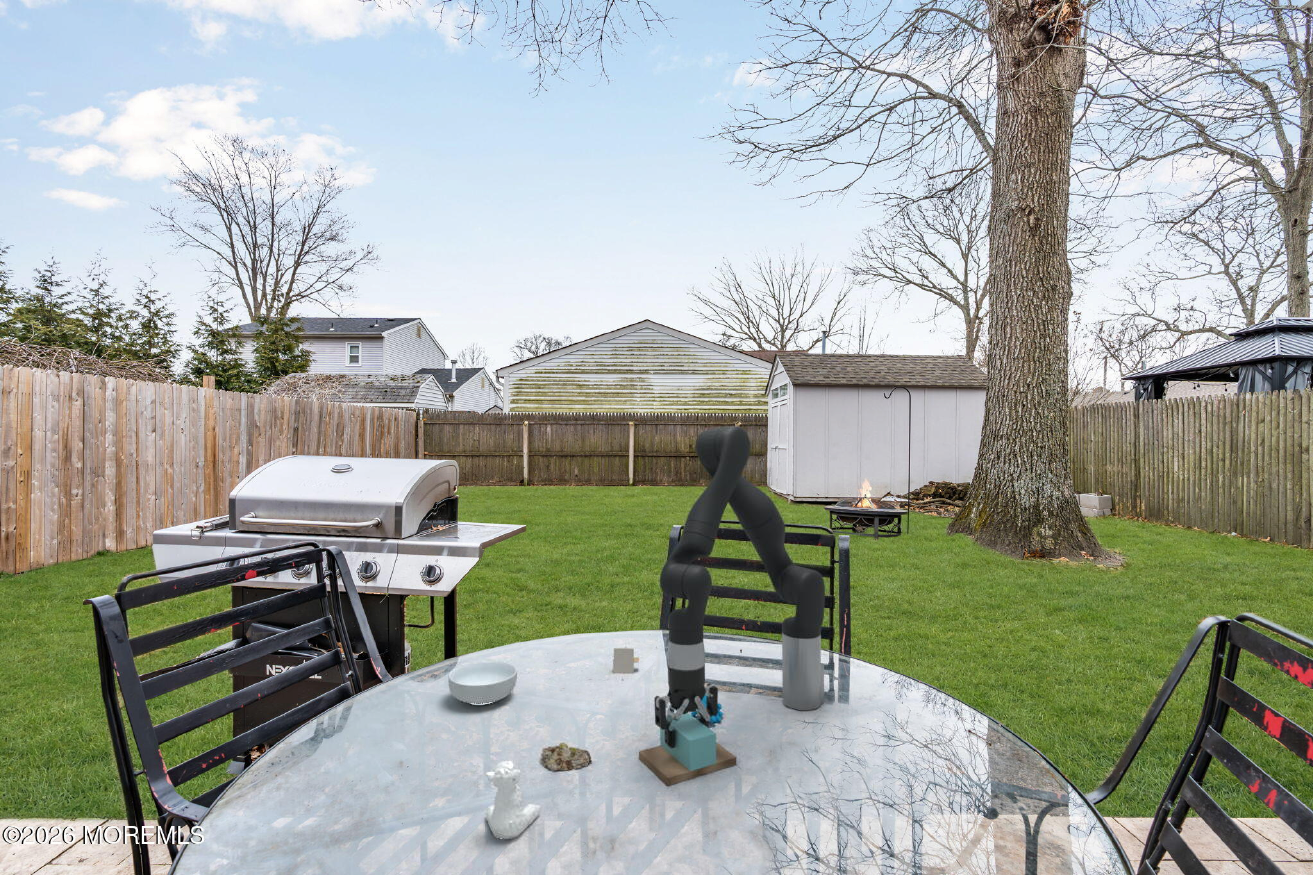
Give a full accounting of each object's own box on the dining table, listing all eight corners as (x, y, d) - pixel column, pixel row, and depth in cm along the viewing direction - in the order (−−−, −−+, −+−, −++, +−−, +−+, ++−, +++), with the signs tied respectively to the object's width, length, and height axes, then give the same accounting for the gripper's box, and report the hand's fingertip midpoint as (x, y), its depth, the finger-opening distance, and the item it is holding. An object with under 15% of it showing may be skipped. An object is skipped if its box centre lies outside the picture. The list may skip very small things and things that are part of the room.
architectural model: (614, 670, 188) (614, 644, 188) (639, 670, 188) (639, 644, 187) (613, 675, 185) (612, 648, 184) (638, 675, 184) (638, 648, 184)
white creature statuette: (541, 813, 119) (540, 746, 119) (534, 843, 111) (533, 772, 110) (487, 814, 119) (486, 747, 119) (476, 845, 110) (475, 773, 110)
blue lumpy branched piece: (713, 724, 149) (686, 686, 153) (695, 739, 151) (669, 701, 155) (732, 712, 159) (707, 676, 163) (715, 727, 161) (690, 691, 165)
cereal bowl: (508, 714, 159) (507, 685, 159) (439, 714, 160) (438, 685, 160) (524, 686, 176) (523, 659, 176) (461, 686, 177) (460, 659, 177)
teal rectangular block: (684, 738, 143) (684, 710, 143) (716, 763, 133) (715, 733, 133) (660, 745, 140) (660, 716, 140) (690, 771, 130) (690, 740, 130)
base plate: (704, 739, 146) (703, 719, 146) (736, 764, 135) (736, 742, 135) (638, 758, 138) (638, 736, 138) (667, 785, 127) (667, 762, 127)
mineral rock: (533, 761, 133) (546, 732, 141) (534, 778, 135) (547, 749, 142) (585, 767, 131) (595, 737, 139) (586, 784, 133) (596, 754, 140)
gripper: (705, 650, 143) (706, 726, 143) (646, 662, 136) (647, 742, 136) (726, 661, 136) (726, 741, 137) (664, 674, 129) (665, 758, 130)
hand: (687, 741), depth 136 cm, fingers open, 7 cm apart
